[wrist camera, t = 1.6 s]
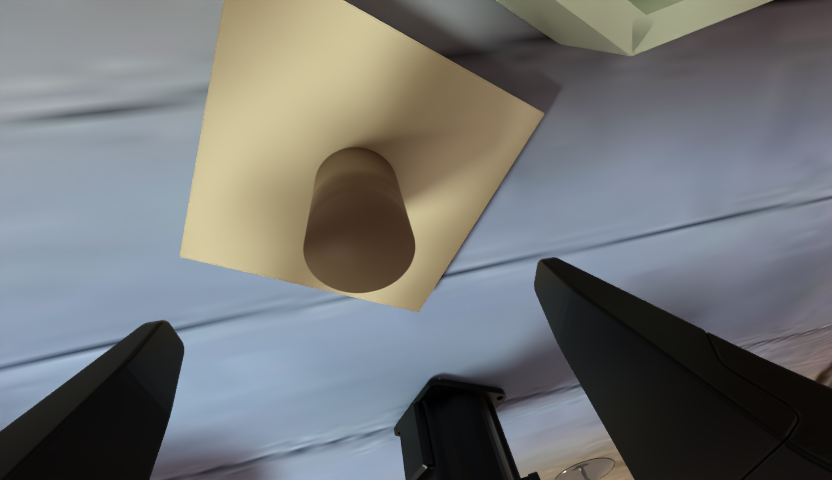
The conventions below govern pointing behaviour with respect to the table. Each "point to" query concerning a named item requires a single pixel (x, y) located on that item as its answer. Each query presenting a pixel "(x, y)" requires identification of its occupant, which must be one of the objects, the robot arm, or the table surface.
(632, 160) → the table surface
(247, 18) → the lid
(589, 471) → the wine glass
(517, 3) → the bowl
